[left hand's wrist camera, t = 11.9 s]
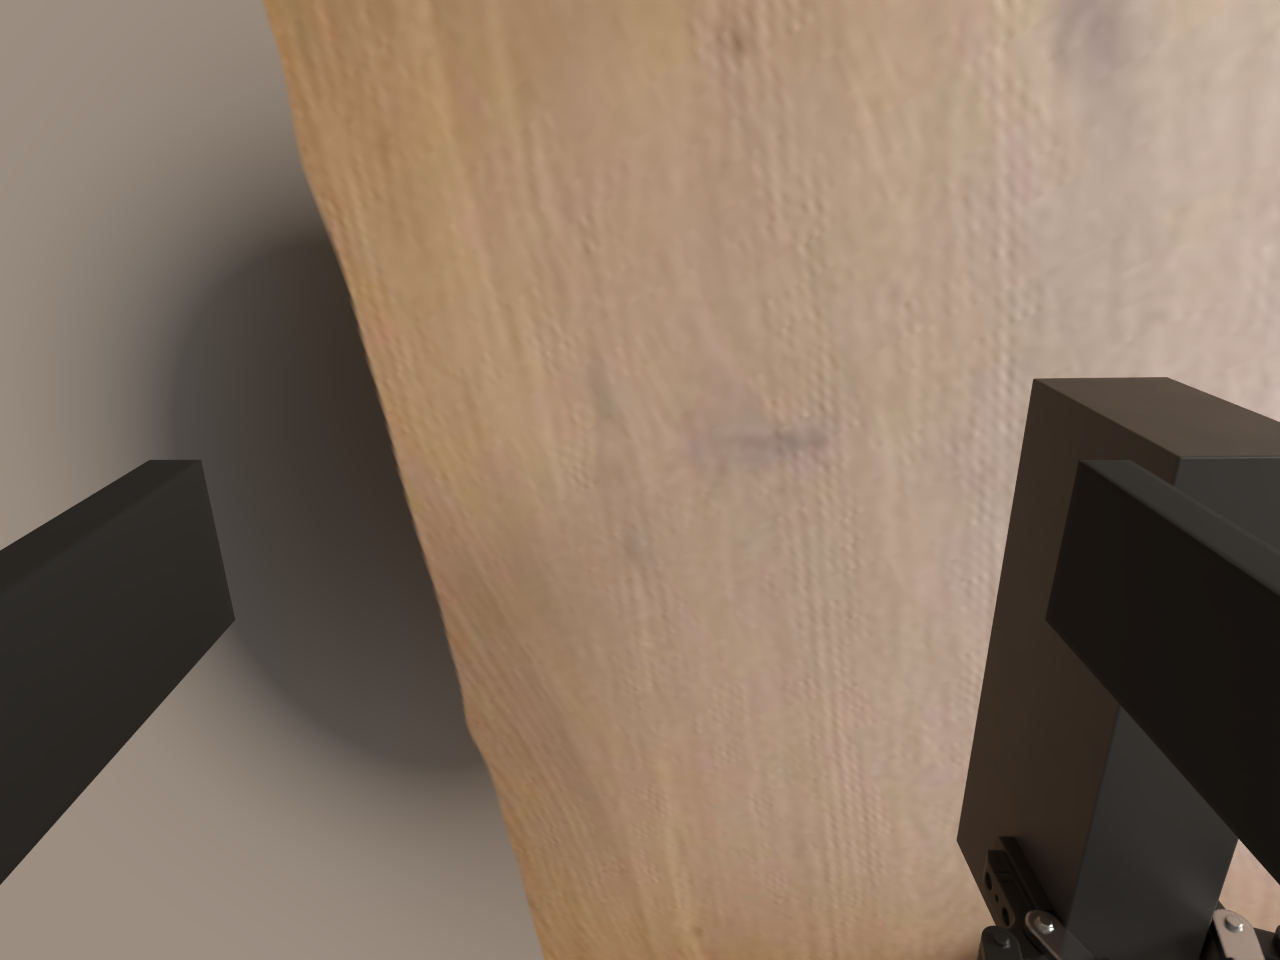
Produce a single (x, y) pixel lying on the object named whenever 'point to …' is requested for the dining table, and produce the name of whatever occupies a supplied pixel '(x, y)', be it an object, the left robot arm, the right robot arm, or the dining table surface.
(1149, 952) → the bar
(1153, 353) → the dining table surface
